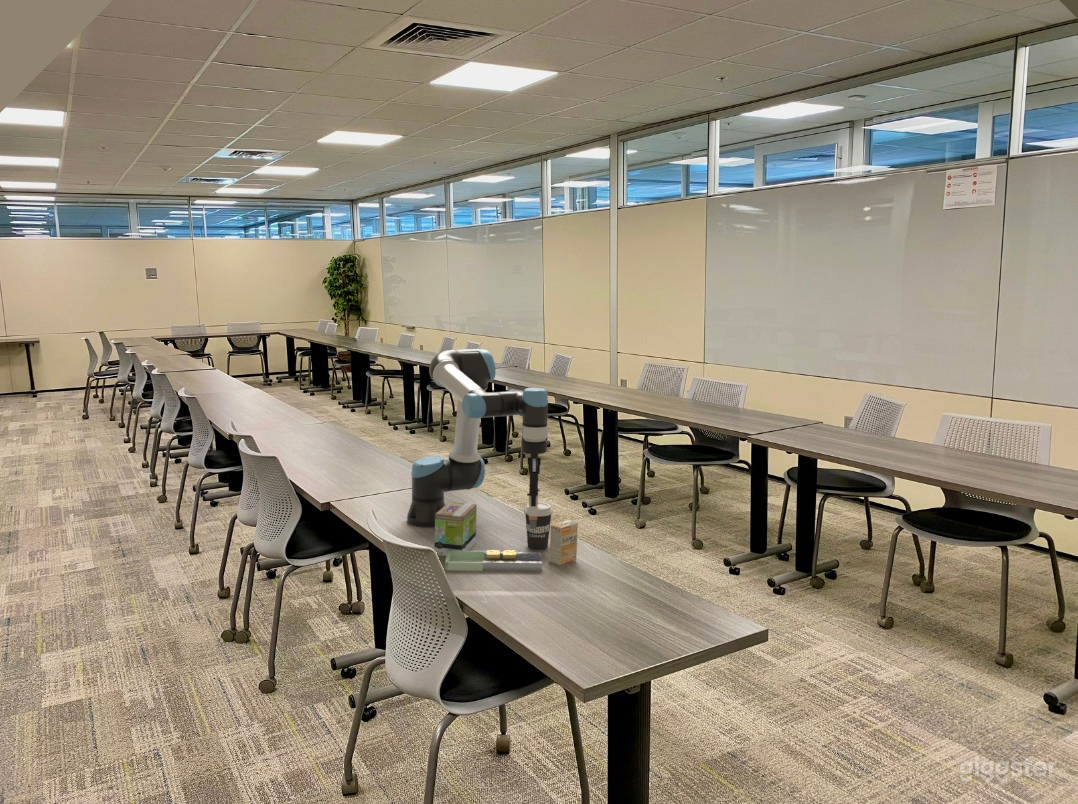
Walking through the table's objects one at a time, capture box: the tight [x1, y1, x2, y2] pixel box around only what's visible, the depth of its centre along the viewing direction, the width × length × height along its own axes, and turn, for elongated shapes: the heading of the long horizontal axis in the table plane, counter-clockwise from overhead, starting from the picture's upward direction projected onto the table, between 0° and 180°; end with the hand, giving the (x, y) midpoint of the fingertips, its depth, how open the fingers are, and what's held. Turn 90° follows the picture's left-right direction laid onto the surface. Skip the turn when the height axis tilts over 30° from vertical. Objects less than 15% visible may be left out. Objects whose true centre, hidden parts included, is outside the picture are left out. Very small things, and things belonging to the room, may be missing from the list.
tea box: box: [433, 501, 477, 557], centre depth 252 cm, size 15×10×15 cm, turn 168°
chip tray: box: [444, 550, 486, 572], centre depth 239 cm, size 10×12×4 cm
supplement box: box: [549, 519, 579, 566], centre depth 244 cm, size 8×5×13 cm, turn 137°
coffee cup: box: [523, 501, 554, 551], centre depth 256 cm, size 10×10×15 cm
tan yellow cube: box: [486, 549, 501, 561], centre depth 239 cm, size 4×4×4 cm
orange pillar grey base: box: [528, 487, 537, 529], centre depth 237 cm, size 4×2×13 cm, turn 1°
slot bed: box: [483, 550, 543, 572], centre depth 240 cm, size 10×18×4 cm, turn 91°
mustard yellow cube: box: [502, 549, 517, 561], centre depth 239 cm, size 4×4×4 cm
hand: (533, 514), depth 237 cm, fingers closed on orange pillar grey base, 2 cm apart
